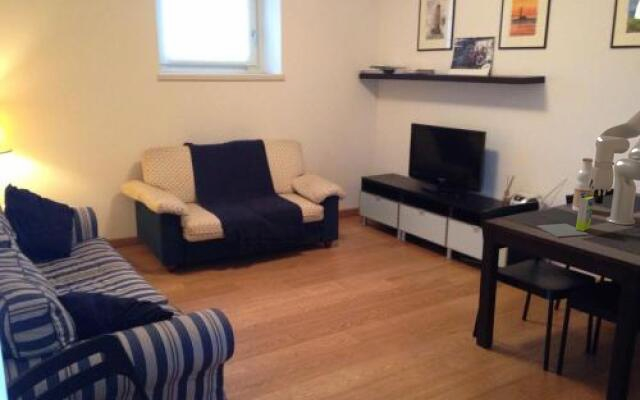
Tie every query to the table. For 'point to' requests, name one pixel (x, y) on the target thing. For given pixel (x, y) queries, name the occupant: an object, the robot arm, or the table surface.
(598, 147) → the robot arm
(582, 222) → the box
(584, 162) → the fruit juice
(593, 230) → the table surface
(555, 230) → the mat
